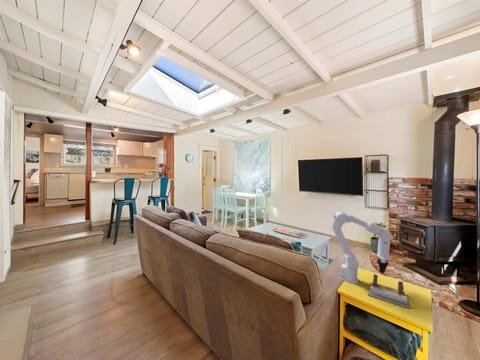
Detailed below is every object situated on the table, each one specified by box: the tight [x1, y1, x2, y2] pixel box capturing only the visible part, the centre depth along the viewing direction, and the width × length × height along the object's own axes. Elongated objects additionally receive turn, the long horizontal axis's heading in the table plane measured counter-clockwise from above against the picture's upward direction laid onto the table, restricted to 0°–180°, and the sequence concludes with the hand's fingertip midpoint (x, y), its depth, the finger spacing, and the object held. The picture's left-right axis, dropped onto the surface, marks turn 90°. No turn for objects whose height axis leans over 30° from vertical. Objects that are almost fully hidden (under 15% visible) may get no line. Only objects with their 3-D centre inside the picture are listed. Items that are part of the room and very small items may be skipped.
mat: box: [367, 287, 411, 310], centre depth 110 cm, size 18×8×1 cm, turn 54°
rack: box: [370, 274, 406, 296], centre depth 117 cm, size 16×6×6 cm, turn 54°
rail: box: [370, 285, 408, 305], centre depth 110 cm, size 16×3×3 cm, turn 54°
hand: (382, 270), depth 121 cm, fingers open, 7 cm apart
